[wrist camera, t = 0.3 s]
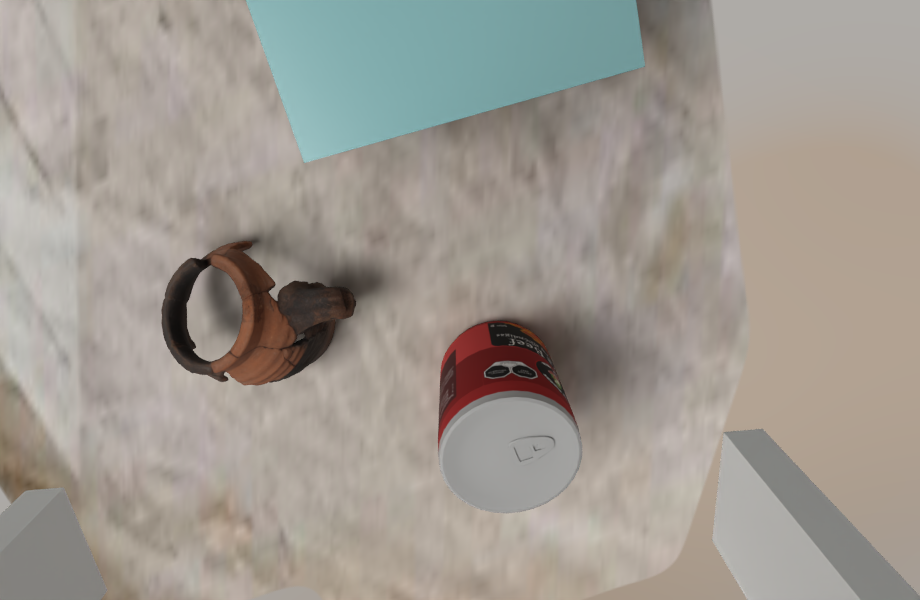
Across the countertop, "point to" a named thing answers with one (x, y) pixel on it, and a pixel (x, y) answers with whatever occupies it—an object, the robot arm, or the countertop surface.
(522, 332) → the canned food
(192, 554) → the countertop surface
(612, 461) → the countertop surface
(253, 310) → the broken clay pot
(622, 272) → the countertop surface
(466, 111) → the lid
